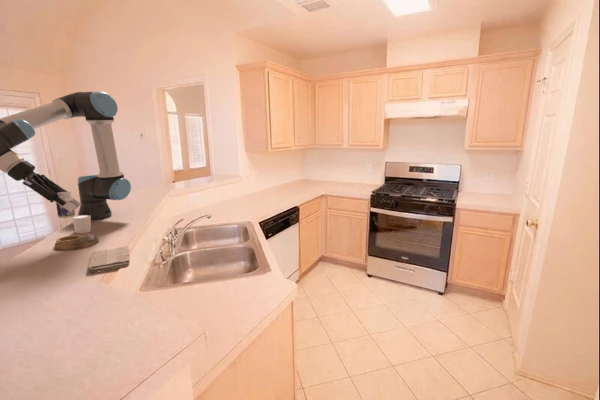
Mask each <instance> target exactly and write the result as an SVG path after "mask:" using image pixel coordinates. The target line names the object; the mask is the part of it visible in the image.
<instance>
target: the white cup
mask: <svg viewBox="0 0 600 400" xmlns="http://www.w3.org/2000/svg"><path fill="white" fill-rule="evenodd" d="M71 219H72V224H73V228H74V231H75V233H76V234H86V233H89V232H91V231H92V229H91V228H92V227H91V226H92V223H91V221H92V220H91V216H90V215H80V216H78V215H75V216H74V217H71Z"/></svg>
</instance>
